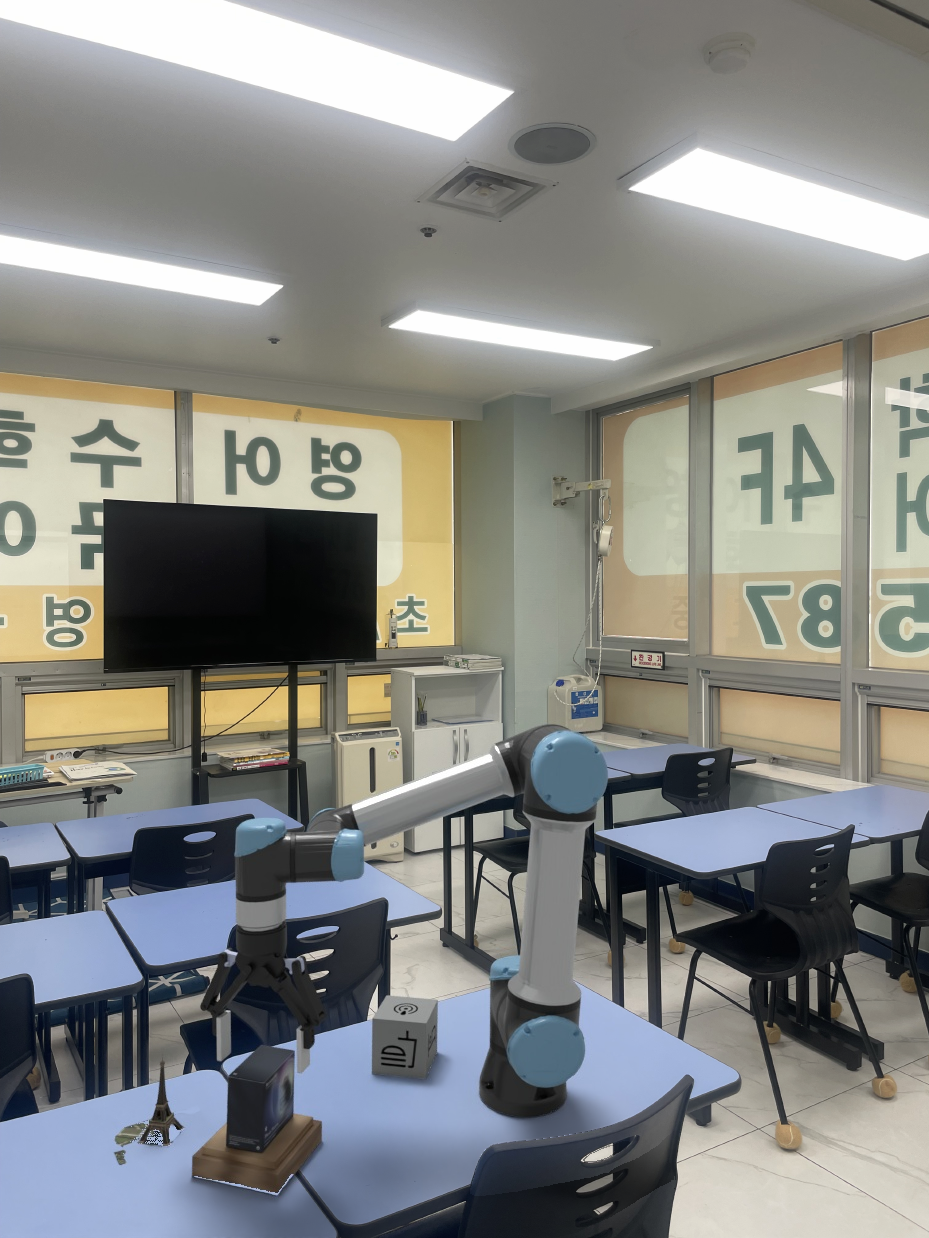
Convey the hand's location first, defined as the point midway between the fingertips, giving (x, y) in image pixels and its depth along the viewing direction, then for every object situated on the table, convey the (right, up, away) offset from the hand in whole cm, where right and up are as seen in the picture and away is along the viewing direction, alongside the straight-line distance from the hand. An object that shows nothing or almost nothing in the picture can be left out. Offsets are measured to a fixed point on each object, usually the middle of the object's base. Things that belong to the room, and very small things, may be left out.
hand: (263, 1062), depth 132 cm
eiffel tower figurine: (-18, -15, +6) cm, 24 cm away
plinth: (-1, -14, 0) cm, 14 cm away
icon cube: (+20, -15, +29) cm, 38 cm away
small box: (0, -11, 0) cm, 11 cm away
